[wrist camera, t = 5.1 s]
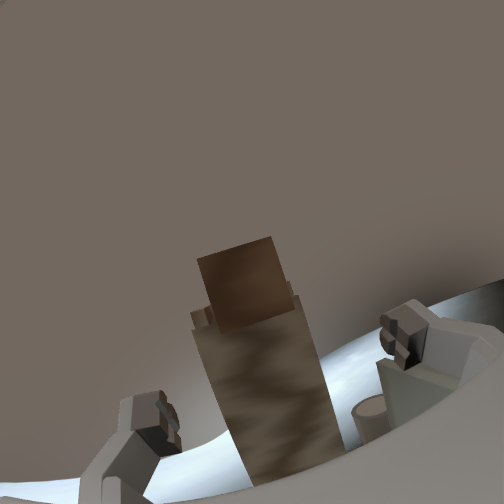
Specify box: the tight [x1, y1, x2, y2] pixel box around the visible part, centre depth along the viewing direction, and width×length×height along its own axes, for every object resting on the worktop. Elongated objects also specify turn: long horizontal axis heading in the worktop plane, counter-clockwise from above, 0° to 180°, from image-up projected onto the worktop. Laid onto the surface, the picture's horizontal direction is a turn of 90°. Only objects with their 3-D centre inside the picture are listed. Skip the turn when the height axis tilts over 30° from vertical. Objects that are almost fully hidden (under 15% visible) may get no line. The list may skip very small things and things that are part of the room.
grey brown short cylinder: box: [351, 394, 391, 446], centre depth 34 cm, size 7×7×7 cm
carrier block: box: [376, 358, 460, 431], centre depth 18 cm, size 7×12×18 cm, turn 6°
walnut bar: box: [197, 236, 295, 334], centre depth 22 cm, size 4×18×4 cm, turn 6°
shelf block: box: [190, 281, 346, 487], centre depth 26 cm, size 8×13×27 cm, turn 6°
